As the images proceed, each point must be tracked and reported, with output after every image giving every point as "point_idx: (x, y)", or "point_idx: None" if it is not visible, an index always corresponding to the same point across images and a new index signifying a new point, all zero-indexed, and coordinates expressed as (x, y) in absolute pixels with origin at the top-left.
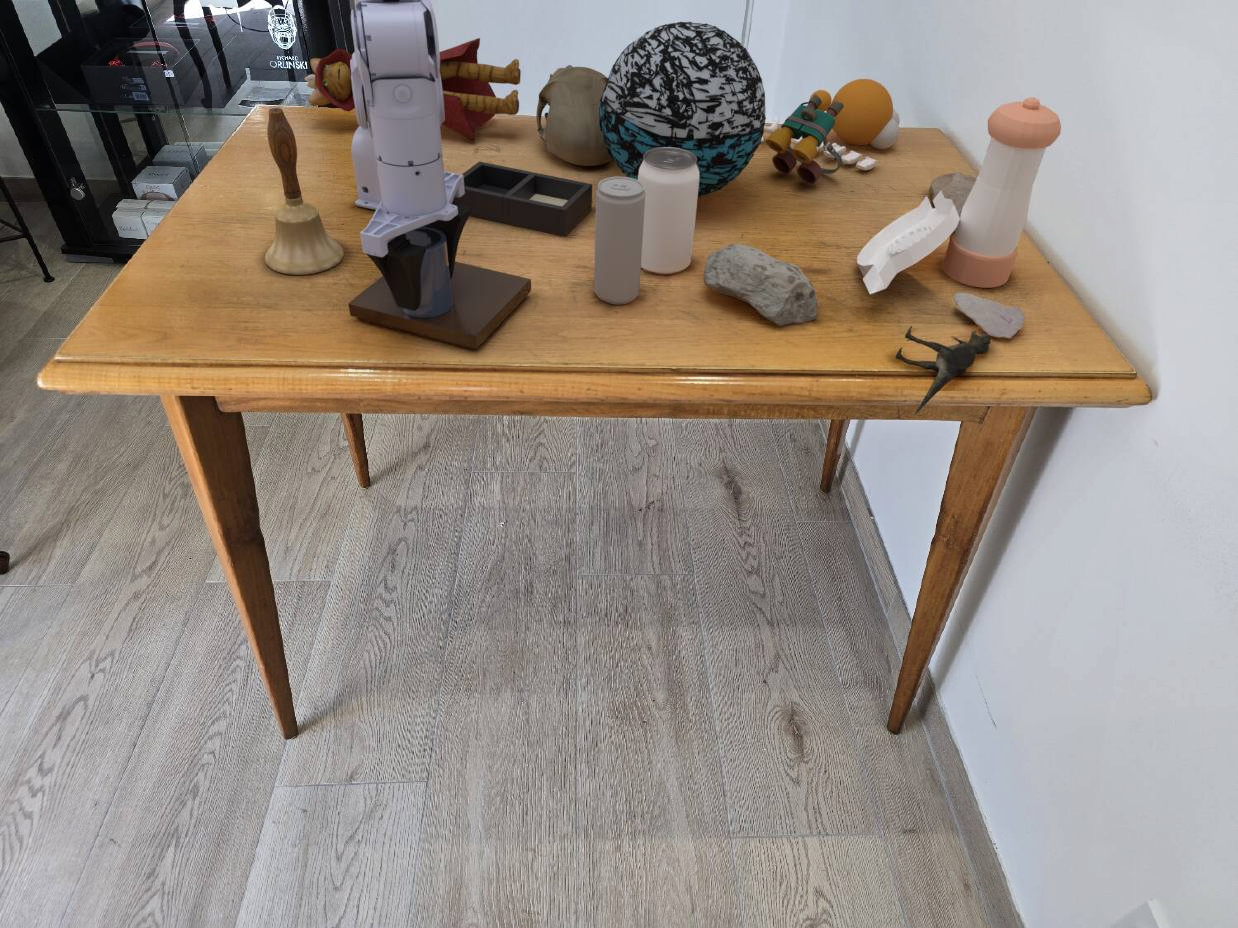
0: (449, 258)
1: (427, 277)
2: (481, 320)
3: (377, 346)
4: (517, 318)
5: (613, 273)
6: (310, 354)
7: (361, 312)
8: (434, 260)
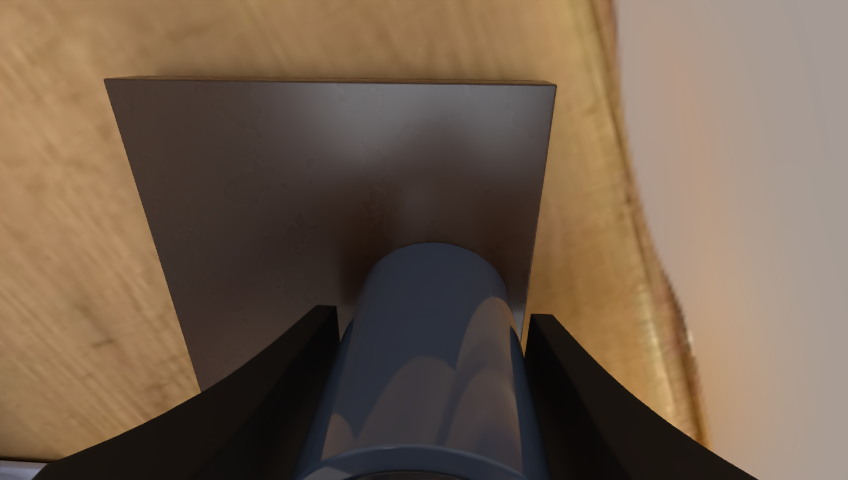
0: (303, 357)
1: (514, 365)
2: (449, 115)
3: (579, 331)
4: (292, 54)
5: None
6: None
7: None
8: (488, 403)
